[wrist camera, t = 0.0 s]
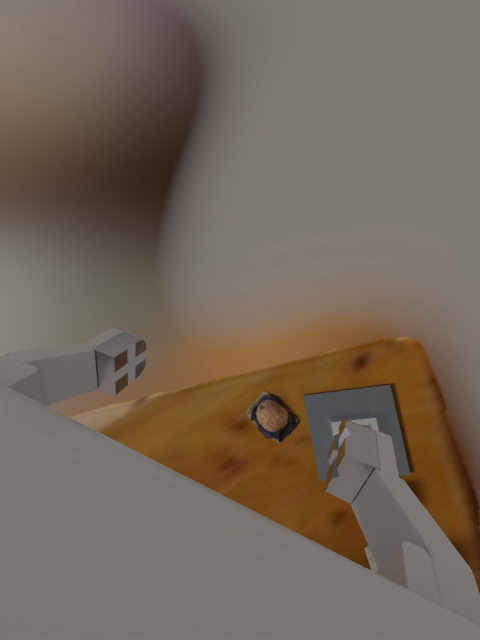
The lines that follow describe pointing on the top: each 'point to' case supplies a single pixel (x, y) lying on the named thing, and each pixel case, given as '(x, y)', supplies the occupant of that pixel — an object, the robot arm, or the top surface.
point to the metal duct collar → (353, 420)
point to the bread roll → (272, 417)
